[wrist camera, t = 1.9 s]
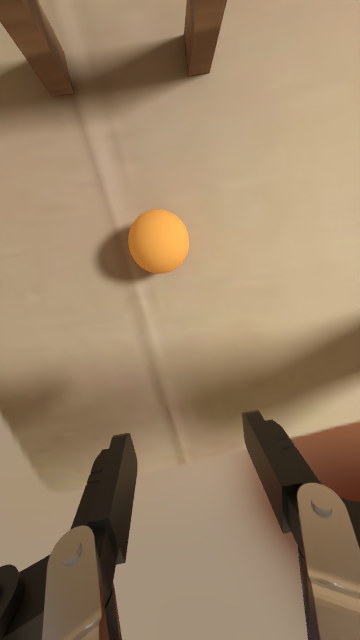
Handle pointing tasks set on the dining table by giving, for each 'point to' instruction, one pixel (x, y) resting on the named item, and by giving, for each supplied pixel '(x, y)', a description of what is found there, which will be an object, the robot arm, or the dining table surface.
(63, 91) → the bridge
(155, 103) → the dining table surface
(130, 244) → the ball
